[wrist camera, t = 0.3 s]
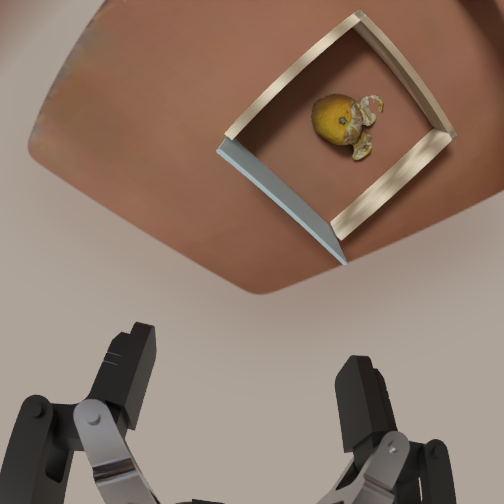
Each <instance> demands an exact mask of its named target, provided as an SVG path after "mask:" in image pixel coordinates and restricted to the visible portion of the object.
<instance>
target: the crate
mask: <svg viewBox="0 0 504 504" xmlns="http://www.w3.org/2000/svg"><path fill="white" fill-rule="evenodd" d="M350 28H353V29H354V30H355V31H356V32H357V33H358V34H359V35H360V36H361V37H362V38H363V39H364V40H365V41H366V42H367V43H368V44H369V45H370V46H371V47H372V49H373V50H374V51H375V52H376V53H377V54H378V55H379V56H380V57H381V59H382V60H383V61H384V62H385V63H386V64H387V65H388V67H389V68H390V69H391V70H392V71H393V73H394V74H395V75H396V76H397V78H398V79H399V80H400V81H401V83H402V84H403V85H404V86H405V88H406V89H407V90H408V92H409V93H410V94H411V96H412V97H413V98H414V100H415V101H416V103H417V104H418V105H419V107H420V108H421V110H422V111H423V113H424V114H425V116H426V117H427V119H428V120H429V122H430V123H431V125H432V126H433V129H432V130H431V131H430V132H429V133H428V134H427V135H425V136H424V137H423V138H422V139H421V140H420V141H419V142H418V143H417V144H416V145H415V146H414V147H413V148H412V149H411V150H409V151H408V152H407V153H406V154H405V155H404V156H403V157H402V158H401V159H400V160H399V161H398V162H397V163H395V164H394V165H393V166H392V167H391V168H390V169H389V170H388V171H387V172H386V173H385V174H383V175H382V176H381V177H380V178H379V179H378V180H377V181H376V182H375V183H374V184H372V185H371V186H370V187H369V188H368V189H367V190H366V191H365V192H364V193H362V194H361V195H360V196H359V197H358V198H357V199H356V200H355V201H353V202H352V203H351V204H350V205H349V206H348V207H347V208H346V209H344V210H343V211H342V212H341V213H340V214H339V215H338V216H337V217H335V218H334V219H333V220H332V221H331V222H330V223H331V225H332V228H333V230H334V232H335V234H336V236H337V237H338V238H339V239H340V240H342V239H344V238H345V237H346V236H347V235H348V234H350V233H351V232H352V231H353V230H354V229H355V228H357V227H358V226H359V225H360V224H361V223H362V222H363V221H365V220H366V219H367V218H368V217H369V216H370V215H371V214H373V213H374V212H375V211H376V210H377V209H378V208H379V207H381V206H382V205H383V204H384V203H385V202H386V201H387V200H388V199H390V198H391V197H392V196H393V195H394V194H395V193H396V192H397V191H398V190H399V189H401V188H402V187H403V186H404V185H405V184H406V183H407V182H408V181H409V180H410V179H412V178H413V177H414V176H415V175H416V174H417V173H418V172H419V171H420V170H421V169H422V168H423V167H424V166H425V165H426V164H428V163H429V162H430V161H431V160H432V159H433V158H434V157H435V156H436V155H437V154H438V153H439V152H440V151H441V150H442V149H443V148H444V147H445V146H446V145H447V144H448V143H449V142H450V141H451V140H452V139H453V138H454V137H455V136H456V135H457V134H456V133H455V131H454V129H453V127H452V126H451V124H450V122H449V121H448V119H447V117H446V116H445V114H444V112H443V111H442V109H441V108H440V106H439V104H438V103H437V101H436V100H435V98H434V97H433V95H432V94H431V92H430V91H429V90H428V88H427V87H426V85H425V84H424V82H423V81H422V80H421V78H420V77H419V76H418V74H417V73H416V72H415V70H414V69H413V68H412V66H411V65H410V64H409V63H408V61H407V60H406V59H405V58H404V56H403V55H402V54H401V53H400V52H399V50H398V49H397V48H396V47H395V46H394V44H393V43H392V42H391V41H390V40H389V39H388V38H387V37H386V35H385V34H384V33H383V32H382V31H381V30H380V29H379V28H378V27H377V26H376V25H375V24H374V23H373V22H372V21H371V20H370V19H369V18H368V17H367V16H366V15H365V14H364V13H363V12H362V11H361V10H360V9H359V10H357V11H356V12H355V13H353V14H352V15H350V16H349V17H348V18H347V19H345V20H344V21H343V22H341V23H340V24H339V25H338V26H336V27H335V28H334V29H333V30H332V31H330V32H329V33H328V34H327V35H326V36H324V37H323V38H322V39H321V40H320V41H318V42H317V43H316V44H315V45H314V46H313V47H312V48H310V49H309V50H308V51H307V52H306V53H305V54H304V55H302V56H301V57H300V58H299V59H298V60H297V61H296V62H295V63H294V64H293V65H292V66H290V67H289V68H288V69H287V70H286V71H285V72H284V73H283V74H282V75H281V76H280V77H279V78H278V79H277V80H276V81H275V82H274V83H273V84H272V85H271V86H269V87H268V88H267V89H266V90H265V91H264V92H263V93H262V94H261V95H260V96H259V97H258V98H257V99H256V100H255V102H254V103H253V104H252V105H251V106H250V107H249V108H248V109H247V110H246V111H245V112H244V113H243V114H242V115H241V116H240V117H239V118H238V119H237V120H236V121H235V123H234V124H233V125H232V126H231V127H230V128H229V129H228V130H227V131H226V133H225V135H226V136H228V137H229V138H230V139H231V140H233V139H234V137H235V136H236V135H237V134H238V133H239V132H240V131H241V130H242V129H243V128H244V127H245V126H246V125H247V124H248V123H249V122H250V121H251V119H252V118H253V117H254V116H255V115H256V114H257V113H258V112H259V111H260V110H261V109H262V108H263V107H264V106H265V105H266V104H267V103H268V102H269V101H270V100H271V99H272V98H273V97H274V96H275V95H276V94H277V93H278V92H279V91H280V90H281V89H282V88H284V87H285V86H286V85H287V84H288V83H289V82H290V81H291V80H292V79H293V78H294V77H295V76H296V75H297V74H298V73H299V72H301V71H302V70H303V69H304V68H305V67H306V66H307V65H308V64H309V63H310V62H312V61H313V60H314V59H315V58H316V57H317V56H318V55H319V54H321V53H322V52H323V51H324V50H325V49H326V48H327V47H329V46H330V45H331V44H332V43H333V42H335V41H336V40H337V39H338V38H339V37H341V36H342V35H343V34H344V33H345V32H347V31H348V30H349V29H350Z"/></svg>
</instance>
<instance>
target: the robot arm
mask: <svg viewBox="0 0 504 504" xmlns="http://www.w3.org/2000/svg"><path fill="white" fill-rule="evenodd" d="M155 358H156V338H155V327H154V326H152V325H148V324H143V323H140V322H136V323H135V324H134V326H133V328H132V330H131V333H130V334H128V333H124V332H121V333H120V334H118V335H117V336H116V337H115V338H114V339H113V340H112V342H111V344H110V346H109V349H108V351H107V353H106V355H105V357H104V361H103V362H102V364H101V367H100V369H99V371H98V374H97V376H96V379H95V381H94V384H93V386H92V389H91V391H90V393H89V395H88V396H87V397H86V398H85V399H84V400H83V401H82V402H80V403H77V404H72V405H71V404H70V405H69V404H68V405H67V404H54V403H50V402H49V401H48V399H46V398H45V397H43V396H40V395H32V396H30V397H28V398H26V399H25V401H24V402H23V404H22V406H21V409H20V412H19V414H18V417H17V419H16V423H15V425H14V428H13V431H12V434H11V437H10V440H9V444H8V447H7V450H6V454H5V457H4V461H3V464H2V468H1V472H0V504H63V503H64V498H65V492H66V486H67V482H68V476H69V472H70V467H71V462H72V459H73V454H74V451H85V452H86V455H87V457H88V460H89V462H90V464H91V466H92V469H93V478H94V481H95V483H96V486H97V488H98V490H99V492H100V494H101V496H102V498H103V500H104V502H105V503H106V504H161V503H160V501H159V500H158V498H157V497H156V495H155V494H154V492H153V490H152V489H151V487H150V485H149V484H148V482H147V480H146V479H145V477H144V475H143V474H142V472H141V470H140V468H139V466H138V465H137V463H136V461H135V459H134V457H133V455H132V453H131V451H130V449H129V447H128V445H127V443H126V441H125V436H126V432H127V429H131V430H135V428H136V424H137V421H138V417H139V413H140V410H141V406H142V403H143V399H144V396H145V392H146V389H147V386H148V382H149V378H150V375H151V372H152V369H153V366H154V362H155ZM386 389H387V388H386V384H385V381H384V378H383V376H382V375H381V373H380V372H379V371H378V369H374V368H373V366H372V362H371V359H370V358H369V357H368V356H355V355H352V356H350V357H349V359H348V360H347V362H346V363H345V364H344V366H343V367H342V369H341V370H340V372H339V373H338V375H337V376H336V380H335V392H336V398H337V404H338V410H339V418H340V424H341V432H342V440H343V448H344V453H347V452H353V454H354V457H353V458H352V459H351V461H350V462H349V464H348V465H347V467H346V469H345V470H344V471H343V473H342V474H341V476H340V478H339V479H338V481H337V482H336V483H335V485H334V486H333V488H332V489H331V490H330V491H329V492H328V494H326V495H325V496H324V497H323V498H322V499H321V500H320V501H319V502H318V503H317V504H456V496H455V489H454V482H453V476H452V470H451V464H450V459H449V455H448V450H447V447H446V445H445V444H444V443H443V442H442V441H441V440H438V439H433V440H431V441H429V442H428V443H427V444H422V443H416V442H411V441H408V439H407V437H406V436H405V435H404V434H403V433H401V432H398V430H397V427H396V423H395V419H394V415H393V411H392V407H391V403H390V399H389V395H388V392H387V391H386ZM419 477H420V480H421V487H422V502H421V496H420V487H419V479H418V478H419ZM176 504H224V503H218V502H210V501H203V500H196V499H192V502H181V503H176Z"/></svg>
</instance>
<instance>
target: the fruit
mask: <svg viewBox="0 0 504 504" xmlns="http://www.w3.org/2000/svg"><path fill="white" fill-rule="evenodd" d="M368 97H372V98H373V99H375V98H376V99H377V100H378V101H379V103H380V104H379V112H382V111H383V102H382V100H381V99H380V98H379V97H378V96H377V95H370V96H365V97H363V99H362V100H361V102H359V103H356V102H355V100H354V99H353V98H351V97H348V96H344V95H341V94H332V95H329V96H325V97H324V98H322V99H319V100H318V101H317V102H316V103H315V104H314V106H313V110H312V115H311V118H312V123H313V128H314V130H315V132H316V133H318V134H319V135H321V136H322V137H323V138H324V139H326V140H328V141H329V142H331V143H332V144H336V145H347V144H350V145H352V146H353V148H354V154H353V155H352V158H353V159H354V160H359V159H361V158H363V157H364V156H366V155H367V154H368V153H369V152H370V151H371V149H372V145H371V143H369V142H368V141H369V140H370V139H371V136H372V135H368V134H366V133H365V132H364V131H363V130H362V127H361V126H362V125H367V126H369V125H371V124H373V122H374V121H375V119H376V116H375V114H372V113H371V112H370V110H369V109H368V105H369V102H368V100H367V99H368ZM373 102H374V101H373ZM364 145H369V146H370V147H369V148H368V149H363V147H364Z"/></svg>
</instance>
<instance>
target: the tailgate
mask: <svg viewBox="0 0 504 504" xmlns="http://www.w3.org/2000/svg"><path fill="white" fill-rule="evenodd" d="M216 152H217V153H218V154H220V155H221V156H222V157H223V158H224V159H226V160H227V161H228V162H229V163H231V164H232V165H233V166H234V167H235V168H236V169H238V170H239V171H240V172H241V173H242V174H244V175H245V176H246V177H247V178H248V179H249V180H251V181H252V182H253V183H254V184H255V185H256V186H258V187H259V188H260V189H261V190H262V191H263V192H264V193H266V194H267V195H268V196H269V197H270V198H271V199H272V200H274V201H275V202H276V203H277V204H278V205H279V206H280V207H281V208H283V209H284V210H285V211H286V212H287V213H288V214H289V215H290V216H292V217H293V218H294V219H295V220H296V221H297V222H298V223H299V224H300V225H301V226H303V227H304V228H305V229H306V230H307V231H308V232H309V233H310V234H311V235H312V236H313V237H314V238H316V239H317V240H318V241H319V242H320V243H321V244H322V245H323V246H324V247H325V248H326V249H327V250H328V251H329V252H330V253H332V254H333V255H334V256H335V257H336V258H337V259H338V260H339V261H340V262H341V263H342V264H343V265H344V266H345V265H346V264H347V262H346V259H345V257H344V255H343V252H342V250H341V248H340V245H339V243H338V241H337V238H336V236H335V234H334V232H333V229H332V228H331V227H330V226H329V225H328V224H327V223H326V222H325V221H324V220H323V219H322V218H321V217H320V216H319V215H318V214H317V213H316V212H315V211H314V210H313V209H312V208H311V207H310V206H309V205H308V204H307V203H306V202H305V201H304V200H302V199H301V198H300V197H299V196H298V195H297V194H296V193H295V192H294V191H293V190H292V189H291V188H290V187H289V186H288V185H286V184H285V183H284V182H283V181H282V180H281V179H280V178H279V177H278V176H277V175H275V174H274V173H273V172H272V171H271V170H270V169H269V168H268V167H267V166H265V165H264V164H263V163H262V162H261V161H260V160H259V159H257V158H256V157H255V156H254V155H253V154H252V153H251V152H249V151H248V150H247V149H246V148H245V147H244V146H242V145H241V144H240V143H239V142H238V141H237V140H235V139H233V140H231V139H230V138H229V137H228V136H227V137H226V138H225V139H224V141H223V142H222V144H221V145H220V146H219V148H218V149H217V151H216Z"/></svg>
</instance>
